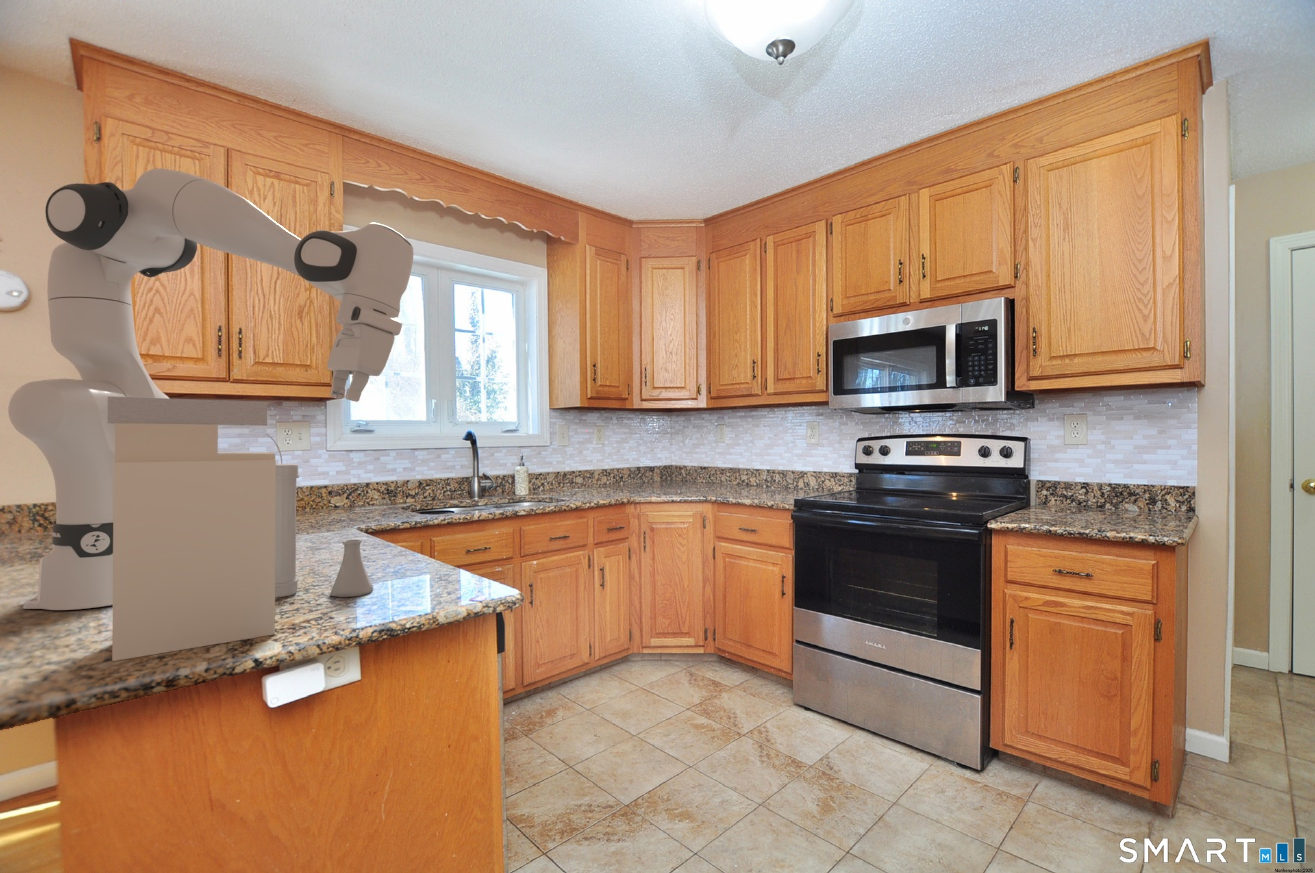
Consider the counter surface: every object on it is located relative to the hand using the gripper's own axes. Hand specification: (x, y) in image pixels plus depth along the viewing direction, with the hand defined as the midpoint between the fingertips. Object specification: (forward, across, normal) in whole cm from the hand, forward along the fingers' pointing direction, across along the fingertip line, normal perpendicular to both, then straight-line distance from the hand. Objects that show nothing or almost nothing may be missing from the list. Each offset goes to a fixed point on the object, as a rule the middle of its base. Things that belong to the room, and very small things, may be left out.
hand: (343, 399), depth 100 cm
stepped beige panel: (+39, +2, -10) cm, 40 cm away
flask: (+35, -10, +14) cm, 39 cm away
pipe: (+38, -18, +4) cm, 42 cm away
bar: (+9, -1, -18) cm, 20 cm away
